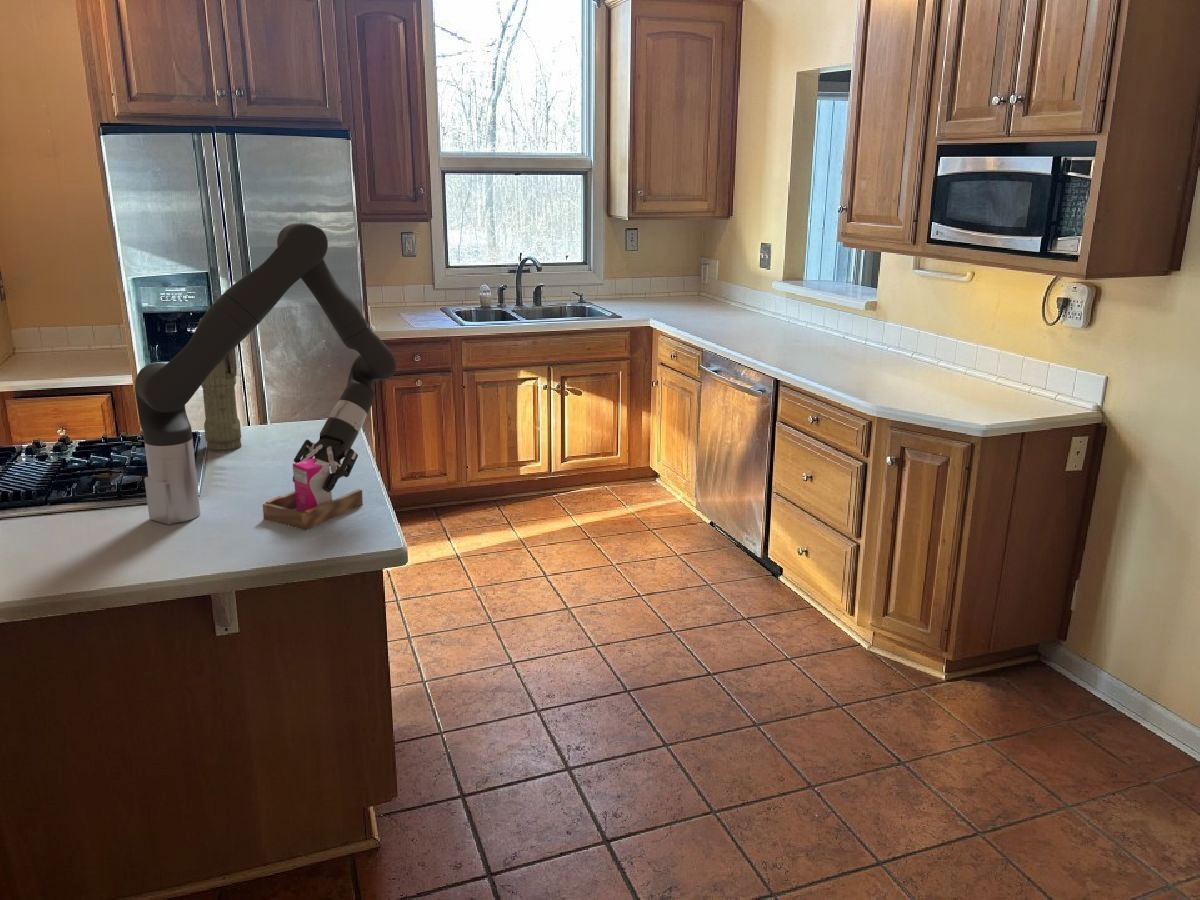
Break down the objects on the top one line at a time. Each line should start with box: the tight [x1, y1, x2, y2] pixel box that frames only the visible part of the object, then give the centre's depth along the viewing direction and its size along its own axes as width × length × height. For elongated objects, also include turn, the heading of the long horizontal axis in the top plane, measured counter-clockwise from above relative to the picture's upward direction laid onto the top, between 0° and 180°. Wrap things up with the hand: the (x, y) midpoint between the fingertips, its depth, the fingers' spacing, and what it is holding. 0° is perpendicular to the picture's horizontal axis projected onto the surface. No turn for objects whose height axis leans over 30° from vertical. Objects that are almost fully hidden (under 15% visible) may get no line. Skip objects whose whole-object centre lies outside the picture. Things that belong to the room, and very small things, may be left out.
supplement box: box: [292, 457, 333, 512], centre depth 198 cm, size 6×6×12 cm
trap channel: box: [262, 488, 364, 531], centre depth 199 cm, size 18×12×4 cm, turn 154°
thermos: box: [198, 317, 242, 453], centre depth 236 cm, size 9×12×35 cm
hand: (310, 486), depth 198 cm, fingers open, 8 cm apart
